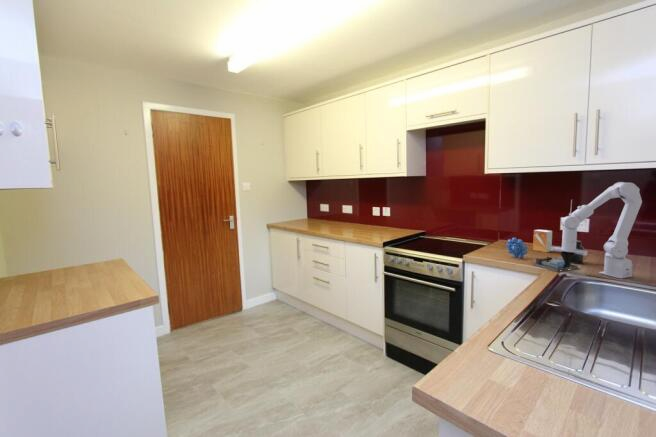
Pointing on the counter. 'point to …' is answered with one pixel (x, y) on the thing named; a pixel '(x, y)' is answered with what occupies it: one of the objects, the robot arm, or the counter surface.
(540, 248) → the small box
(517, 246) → the grapes
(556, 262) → the blue-grey rectangular block
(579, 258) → the supplement bottle
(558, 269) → the heatsink base
